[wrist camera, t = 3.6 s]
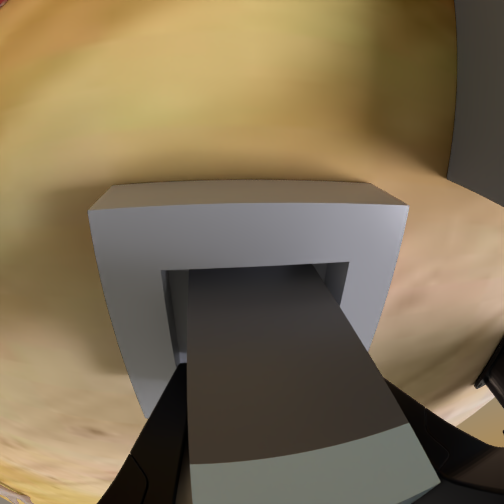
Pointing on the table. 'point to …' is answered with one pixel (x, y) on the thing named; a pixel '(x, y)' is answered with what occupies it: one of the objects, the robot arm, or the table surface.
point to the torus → (2, 2)
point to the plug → (289, 397)
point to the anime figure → (14, 496)
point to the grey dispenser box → (479, 99)
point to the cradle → (234, 254)
